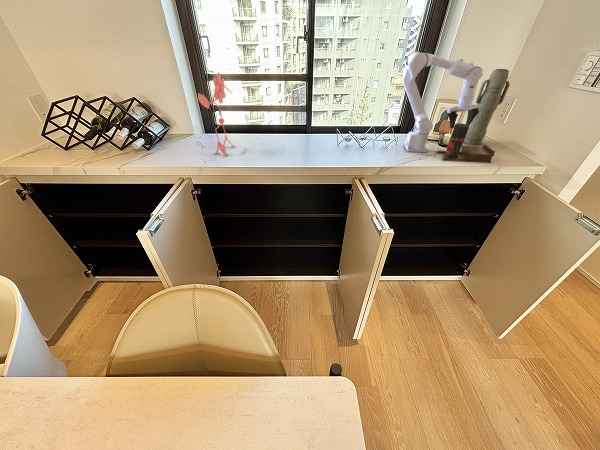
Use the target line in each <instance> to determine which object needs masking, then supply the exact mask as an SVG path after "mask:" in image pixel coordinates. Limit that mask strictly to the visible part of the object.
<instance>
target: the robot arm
mask: <svg viewBox="0 0 600 450" xmlns="http://www.w3.org/2000/svg"><path fill="white" fill-rule="evenodd" d="M429 66H434V67H438V68H442V69H445V70H447V73H448V74H449V75H451V76H453V77H457V78H460V79H463V82H462V85H461V90H460V94H459V99H458V104H457V105H456V106H452V107H447V110H446V113H447V116H448V119H449V128H450V129H454V126H455V124H456V121H457V119H458V117H459V114H458V113H459V112H467V116H466V117H467V118H466V122H465V124H467V125H469V127H470V125H471V122H472V121H473V119H474V118H475V116H476V115H477V114H478V113H479V110H480V109H481V105H480V104H477V103H476V104H474V100H475V95H476V92H477V89H478V83H479V81H480V80H481V79H482V78H483V75H484V73H483V68H482V67H481V66H478V65H475V64H474V63H473V62H466V61H465V60H464V59H463V58H459V59H458V58H456V59H454V60H452V61H451V60H449V59H447V58H444V57H441V56H438V55H436V54H432V53H427V52H420V51H413V52H411V53H410V54H409V55H408V57H407V59H406V61H405V62H404V69H403V74H402V84H403V87H404V91H405V92H406V95H407V98H408V101H409V104H410V106H411V110H412V113H413V116H414V117H413V118H414V126H415V128H414V129H413V131H408V133H407V136H406V140H405V144H404V148H405V150H406V151H407V152H415V153H427V149H426V148H425V147H426V144H427V141H428V138H429V135H430V132H431V131H432V130H433V126H434V125H433V124H434V123H433V122H432V121H431V120H430V119H429V117H428V114H427V113H426V111H425V107H424V104H423V101H422V98H421V95H420V92H419V89H418V85H417V82H416V78H417V77H418V75H419V73H420V72H421V71H422V70H423V69H424V67H427V68H428V67H429Z"/></svg>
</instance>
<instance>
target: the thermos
mask: <svg viewBox="0 0 600 450" xmlns="http://www.w3.org/2000/svg"><path fill="white" fill-rule="evenodd" d="M509 74H510V70H509V69H506V68H496V69H494V70H493V71H492V72H491V73H490V75H489V77H488V79H485V80H484V81H483V82H482V83H481V85H480V88H479V90H478V93H477V95H476V98H475V104H476V105H477V104H480V105H481V109H480V110H479V113H478V114H477V115H476V116H475V118H474V119H473V121H472V122H471V124H470V126H469V129H468V132H467V134H466V137H465V139H464V142H463V144H466V145H469V146H481V145H482V142H483V140H485V136H486V134H487V133H488V132H487V131H488V127H489V124H490V122H491V119H492V117H493V115H494V113H495V111H496V110H497V108H498V106H499V105H501V104H502V103H503V101H504V99H505V97H506V95H507V92H508V90H509V87H510V85H511V84H510V81H509V80H508V79H509Z"/></svg>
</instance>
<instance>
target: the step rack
mask: <svg viewBox="0 0 600 450" xmlns="http://www.w3.org/2000/svg"><path fill="white" fill-rule="evenodd" d="M445 152H446V150H437V152H436V153H437V154H445ZM495 153H496V150H494V149H493V148H491V146H489V145H488V144H487V143H483V145H482V146H481V145H462V147H461V150H460V152H459V155H461V156H462V157H457V158H446V157H445V156H443V157H442V160H443V161H453V162H455V161H456V162H472V163H473V162H474V163H475V162H476V163H491V161H492V159H493V157H495Z"/></svg>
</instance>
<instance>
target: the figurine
mask: <svg viewBox="0 0 600 450" xmlns="http://www.w3.org/2000/svg"><path fill="white" fill-rule="evenodd" d="M215 76H216V77H215ZM215 76H213V78H212V80H213V84H214V93H213V97H212V99H211V100H210V101H209V100H208V98H207V97H206V96H205V95H204V94H202V93H200V92H198V93H197V98H198V101H199V103H200V104H201V105H202V106H203V107H204V108H206V109H208V110H209V109H210V105H211V104H212V103H213V104H214V105H215V106H216V107H217V108H218V109H219V114H220V117H219V119H218V123H219V124H218V125H217V127H215V134H216V137H217V140H218V141H217V143H216V145H217V147H216V151H215V154H216V155H217V154H218V152H219V150H220V152H221V153H222V154H223V155H225V156H227V150H226V147H225V144H226V141H227V142H228V143H229V144H230V145H231V146H232V147H234V145H233V143H232V142H231V141H230V140H229V138H228V136H227V133H226V130H225V126H224V124H225V119H224V118H223V114H222V109H221V107H220V106H219V105H218V104H217V103H216V102H217V101H218V102H219V104H220V105H222V104H223V102H224V99H225V98H226V92H225V89H226V90H227V91H228V92H229V93H230V94H233V92H232V91H231V90H230V89H229V88H228V87H227V86H226V85H225V79H224V77H222V76H221V73H220V72H217V73H216V75H215ZM221 125H222V128H223V133H224V141H223V144H222V143H221V141H220V139H219V135H218V131H217V129H219V127H220V126H221ZM246 151H248V148H246ZM243 154H244V152H243V153H240V154H239V155H240V156H241V155H243ZM209 158H210V159H212V156H211V157H209Z"/></svg>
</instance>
